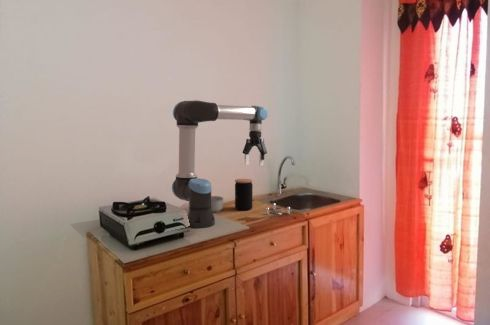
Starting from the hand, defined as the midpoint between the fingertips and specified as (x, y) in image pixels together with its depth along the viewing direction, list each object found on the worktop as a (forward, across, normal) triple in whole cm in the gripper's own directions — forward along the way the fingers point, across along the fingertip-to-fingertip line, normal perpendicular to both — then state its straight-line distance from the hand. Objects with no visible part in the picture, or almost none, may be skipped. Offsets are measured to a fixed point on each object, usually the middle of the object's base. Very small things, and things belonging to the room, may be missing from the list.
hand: (253, 165), depth 236 cm
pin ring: (+28, -18, -1) cm, 33 cm away
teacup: (+29, +10, +23) cm, 38 cm away
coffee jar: (+27, +1, +6) cm, 28 cm away
